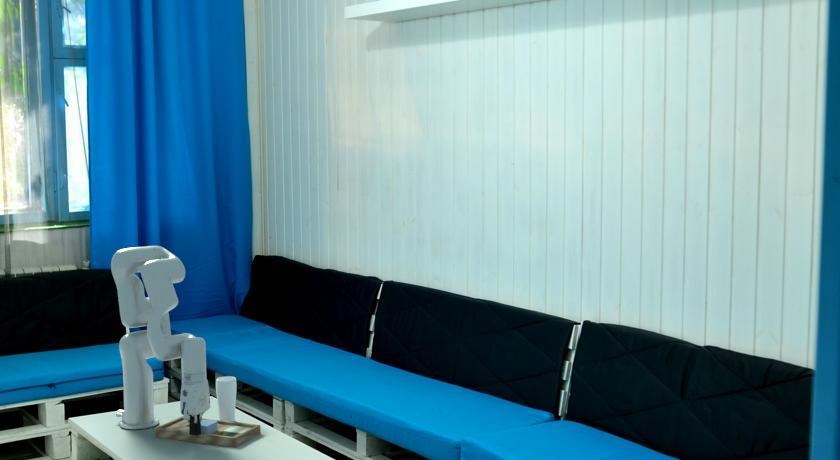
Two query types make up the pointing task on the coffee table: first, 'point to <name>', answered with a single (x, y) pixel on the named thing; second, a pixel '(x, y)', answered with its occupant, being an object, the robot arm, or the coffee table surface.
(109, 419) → the coffee table surface
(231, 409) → the drinking glass
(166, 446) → the coffee table surface
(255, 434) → the box
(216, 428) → the block
